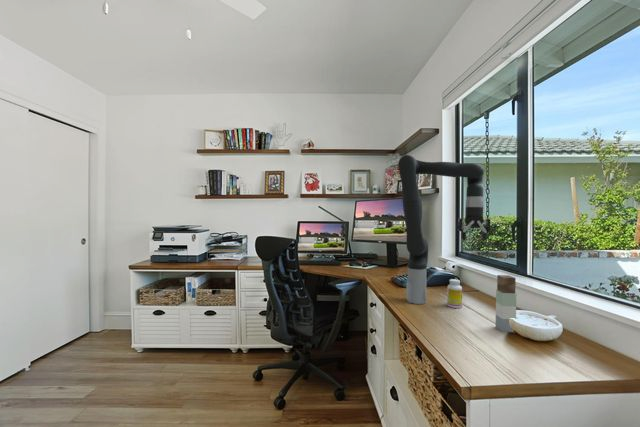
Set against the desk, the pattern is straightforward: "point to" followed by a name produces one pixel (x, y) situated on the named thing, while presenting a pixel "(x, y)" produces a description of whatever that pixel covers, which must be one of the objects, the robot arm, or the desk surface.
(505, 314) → the tower mid
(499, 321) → the tower base
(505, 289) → the walnut block
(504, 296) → the tower top
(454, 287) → the supplement bottle
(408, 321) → the desk surface
